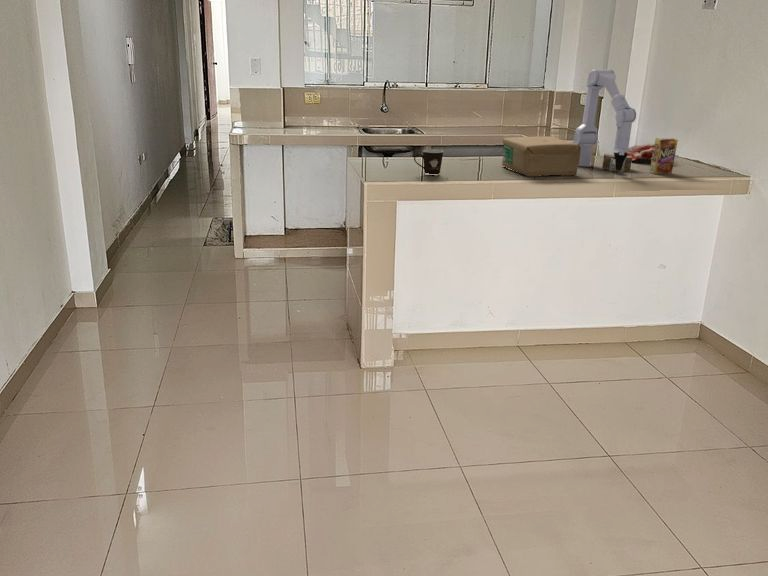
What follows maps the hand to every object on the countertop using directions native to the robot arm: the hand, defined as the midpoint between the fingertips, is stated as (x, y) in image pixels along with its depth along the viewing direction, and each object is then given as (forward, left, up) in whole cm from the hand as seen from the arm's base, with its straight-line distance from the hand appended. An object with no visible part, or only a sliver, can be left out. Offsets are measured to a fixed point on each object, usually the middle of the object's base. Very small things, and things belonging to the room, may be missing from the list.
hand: (618, 169), depth 291 cm
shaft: (0, +11, -3) cm, 11 cm away
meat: (+14, +47, -3) cm, 49 cm away
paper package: (-34, -1, -3) cm, 34 cm away
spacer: (0, +13, -3) cm, 14 cm away
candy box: (+19, +15, -3) cm, 24 cm away
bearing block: (0, +18, -3) cm, 18 cm away
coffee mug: (-78, -27, -3) cm, 83 cm away
